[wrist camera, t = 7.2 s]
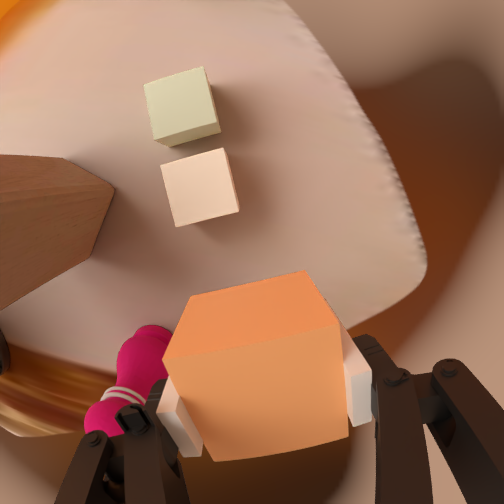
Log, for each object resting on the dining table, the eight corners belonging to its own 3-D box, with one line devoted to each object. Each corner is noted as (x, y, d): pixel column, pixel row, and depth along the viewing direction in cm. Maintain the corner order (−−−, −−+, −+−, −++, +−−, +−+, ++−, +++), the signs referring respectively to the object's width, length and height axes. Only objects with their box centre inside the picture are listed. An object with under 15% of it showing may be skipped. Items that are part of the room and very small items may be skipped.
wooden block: (61, 155, 30) (-61, 150, 11) (120, 187, 31) (-3, 200, 12) (38, 225, 32) (-75, 262, 12) (91, 260, 33) (-17, 328, 14)
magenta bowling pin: (146, 310, 35) (74, 418, 15) (192, 343, 36) (158, 469, 17) (122, 345, 36) (55, 450, 17) (165, 375, 37) (124, 492, 18)
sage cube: (169, 147, 31) (154, 140, 25) (159, 99, 29) (143, 84, 24) (221, 132, 31) (216, 121, 25) (210, 85, 29) (203, 66, 23)
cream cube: (187, 219, 33) (175, 227, 27) (174, 168, 31) (160, 165, 25) (239, 206, 32) (238, 211, 27) (227, 154, 31) (223, 147, 25)
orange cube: (221, 385, 16) (214, 461, 11) (190, 296, 15) (161, 359, 9) (320, 364, 16) (348, 436, 10) (304, 270, 15) (339, 323, 9)
